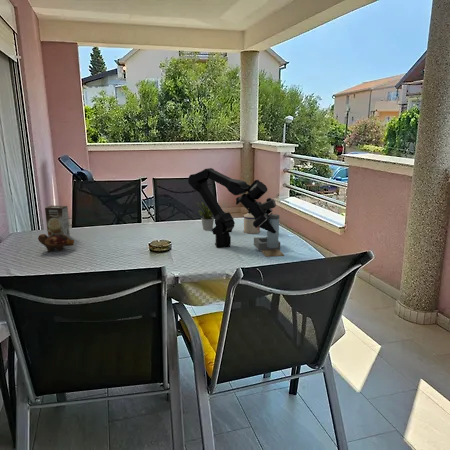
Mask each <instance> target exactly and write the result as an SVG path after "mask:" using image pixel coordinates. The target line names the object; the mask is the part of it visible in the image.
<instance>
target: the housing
mask: <svg viewBox="0 0 450 450" xmlns="http://www.w3.org/2000/svg"><path fill="white" fill-rule="evenodd" d="M253 246H254V247H255V248H256V249H257V250H258V252H262V250H273V249H279V250H280V251H281V242H280V241H279V240H278V247H277V248H269V247H267V236H264V237H263V236H261V237H253Z"/></svg>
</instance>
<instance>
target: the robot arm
mask: <svg viewBox="0 0 450 450" xmlns="http://www.w3.org/2000/svg"><path fill="white" fill-rule="evenodd" d="M209 180H212V181H213V182H215V183H217V184H219V185H220V186H223V187H225V188H226V189H227V191H228V192H230V194H231V195H233V196H237V197H236V198H235V200H236V202H235V204H236V205H238V204H240V205H242V206H243V207H244V208H245V209H246V210H247V211H248V212H247V214H248V213H249V214H250V213H251V214H252V215H253V216H254V218H255V221H254V222H253V226H254V227H255V228H257V227H258V226H259V225H260V226H259V228H260V229H263V230H265V231H269V232H272V233H274V234H275V233H276V231H275V229H274V228H273V226H272V225H271V223H270V222H269V217H268V215H270V214H273V212H274V211H273V209H274V208H276V207H277V204H276V201H275V200H274V199H273V198H271V197H268V198H266V201H265V202H263V203H262V202H261V201H258V200H259V199H260V198H261V197H263V196H264V195H265V194H266V193H267V192H268V186H266V184H264V182H262V181H260V180H259V179H255V180H254V181H253V182H252V184H251V185H250V184H249V183H247V182H246V181H244V180H240V179H237V178H236V179H234V178H231V177H229V176H227V175H225V174H223V173H221V172H219V171H217V170H215V169H214V168H212V167H210V168H204V169H203V170H201V171H198V172H196V173H192V174H190V175H188V179H187V182H188V184H189V186H190V187H191V188H192V189H193V190H194V191H196V192H198V194H199V195H200V196H201V198H202V199H203V201H204V204H205V205H206V206H208V209H210V211H211V212H212V214H213V215H212V216H213V218H214V224H215V226H213V229H212V230H211V231H212V235H215V242H214V245H215V247H216V248H231V243H232V241H231V239H232V238H231V235H230V233H232V232H233V229H234V228H235V224H236V223H235V218H234V217H232V214H231V213H230V212H225V211H224V210H223V209H222V207H221V206H220V203H218V201H217V199H216V197H215V196H214V195H213V193H212V191H211V190H210V188H209V185H208V184H209V183H208V181H209ZM240 195H241V196H240Z"/></svg>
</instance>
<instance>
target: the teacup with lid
mask: <svg viewBox="0 0 450 450" xmlns="http://www.w3.org/2000/svg"><path fill="white" fill-rule="evenodd" d="M254 221H255V218H254V216H253V215H252V214H251V213H250V214H249V213H248V212H247V213H246V214H243V232H244V233H245V234H251V235H255V234H259V233H260V232H261V228H259V226H260V225H259V226H258V227H257V228H255V227H254V226H253V222H254Z"/></svg>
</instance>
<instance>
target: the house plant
mask: <svg viewBox="0 0 450 450" xmlns="http://www.w3.org/2000/svg"><path fill="white" fill-rule="evenodd" d="M195 203H196V204H197V205H196V207H198V208H199V209H200V210H198V212H197V213H199V216H203V217H201V218H200V220H201V226H202V230H204V231H212V229H213V228H214V223H215V217H214V215H213V214H212V212H211V211H210V209H209V207H208V206H207V205H206V203H205V202H201V204H200V203H199V202H197V201H196V202H195Z"/></svg>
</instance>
